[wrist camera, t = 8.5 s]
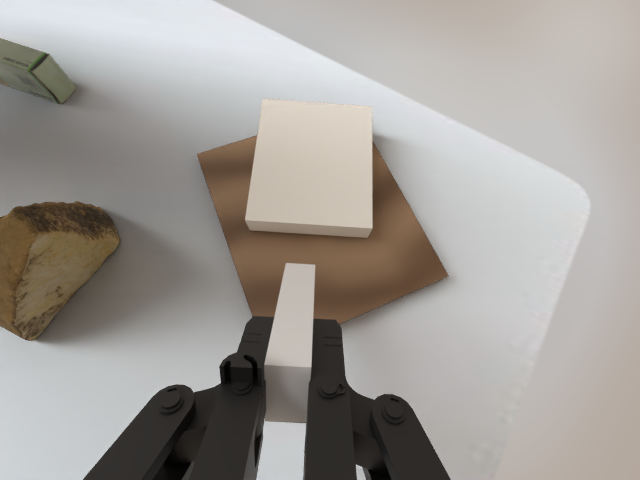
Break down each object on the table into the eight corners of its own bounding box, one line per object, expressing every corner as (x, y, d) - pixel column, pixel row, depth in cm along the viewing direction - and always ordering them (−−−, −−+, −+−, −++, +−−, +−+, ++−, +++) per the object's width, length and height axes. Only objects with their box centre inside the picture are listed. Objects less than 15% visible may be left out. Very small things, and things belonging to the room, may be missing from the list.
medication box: (80, 87, 33) (51, 52, 29) (64, 106, 32) (32, 72, 28) (-18, 55, 34) (-58, 17, 30) (-37, 72, 33) (-81, 35, 29)
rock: (4, 387, 21) (133, 300, 22) (-170, 322, 16) (9, 211, 17) (47, 291, 30) (139, 231, 30) (-57, 228, 24) (58, 158, 25)
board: (200, 161, 30) (196, 154, 29) (351, 113, 33) (352, 105, 32) (268, 355, 24) (266, 355, 23) (442, 278, 27) (448, 275, 26)
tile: (372, 228, 25) (372, 106, 29) (244, 220, 24) (262, 98, 28) (366, 238, 27) (367, 124, 31) (250, 231, 27) (265, 117, 31)
